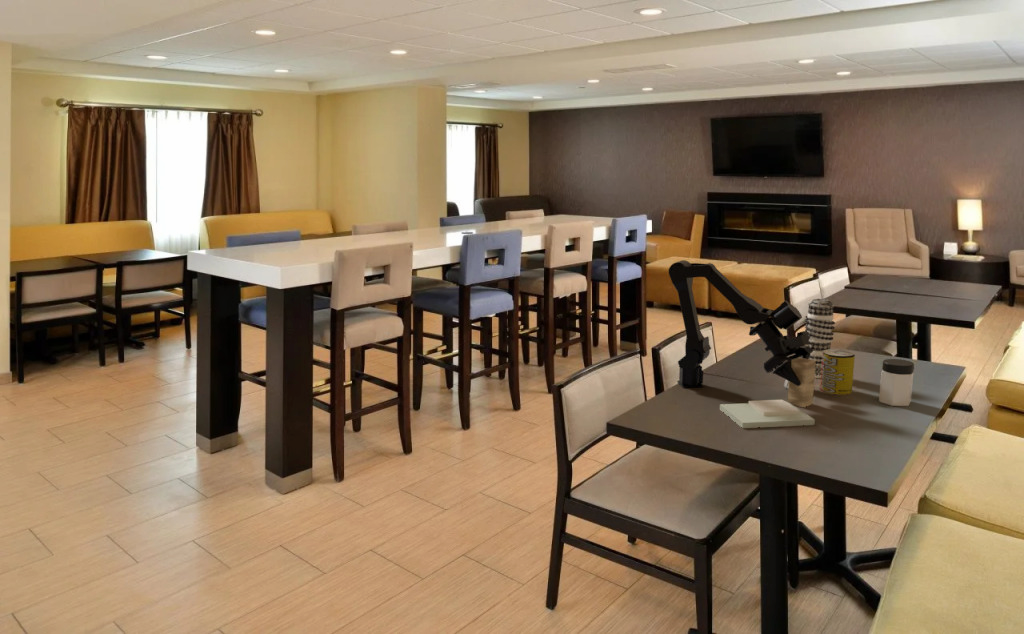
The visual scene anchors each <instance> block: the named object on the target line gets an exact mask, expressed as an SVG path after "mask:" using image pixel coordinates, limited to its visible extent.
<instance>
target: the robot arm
mask: <svg viewBox="0 0 1024 634" xmlns="http://www.w3.org/2000/svg"><path fill="white" fill-rule="evenodd" d="M668 275H669V278H670V280H671V283H672V285H673V286H674V288H675V290H676V291H677V295H678V299H679V307H680V310H681V315H682V319H683V324H684V329H685V335H686V337H685V338H686V339H685V344H684V347H685V348H684V349H685V350H684V351H685V355H684V356H683V357H681V358H680V359H679V360H678V361H677V364H678V366H679V372H678V374H679V375H678V377H679V378H678V380H677V381H676V383H678V384H679V385H680V386H681V387H682V388H703V387H704V370H703V366H702V365H701V364H703V362H704V361H705V360H706V359H707V358H708V357H709V355H710V354H711V353H710V350H711V349H712V347H711V346H710V339H709V337H710V336H705V337H704V335H703V333H702V331H701V328H700V327H701V326H700V322H699V317H698V312H697V307H696V301H695V298H694V292H693V283H694V282H693V281H694V278H705V279H706V280H707V281H708V282H709V283H710V284H711V285H712V286H713V288H715V289H716V290H717V291H718V292H719V293H720V294H721V295H722V296H723V297H724V298H725V299H726V300H727V301H728V302H730V303H731V305H732V306H733V308H734V310H735V312H736V314H737V315H738V317H739V318H740V320H741V321H742V323H744V324H747V325H752V326H750V327H749V333H748V335H749V336H756V335H757V336H758V337H759V338H760V340H761V341H762V342H763V343H764V345H765V346H766V347H765V348H764V350H765V351H766V352H769V353H771V354H772V356H771V357H770V358H769V359H768V360H766V361H765V362H764V363H763V370H764V371H765V372H766V374H769V373H772V375H773V374H774V375H776V376H778V377H781V378H783V379H786V380H788V381H790V382H791V383H793V384H795V385H797V386H800V385H801V383H800V381H799V379H798V377H797V376H796V374H795V372H794V371H793V369H792V367H791V360H793V359H796V358H799V357H800V358H805V359H809V357H810V354H811V353H812V352H813V350H812V349H811V348H810V346H806V345H808V344H810V343H809V339H810V336H808V334H807V333H806V332H805V330H802V331H799V332H797V334H796V336H793V337H790V336H789V335H787V334H786V335H784V334H783V333H782V332H781V331H780V330H783V329H784V330H788V329H789V328H791V327H792V326H793V325H794V324H796V323H797V322H798V321H800V320H801V319H802V318H803V316H802V314H801V313H800V311H799V310H798V308H797V307H796V306H794V305H793V304H791V303H789V302H788V300H784V301H783V302H781V304H780V305H779V306H778V307H776V308H775V309H769V308H767V307H763V305H761V304H760V303H759V302H757V301H755V300H754V299H753V298H751V297H749V296H747V295H745V294H744V293H742V292H741V291H740V289H738V288H737V287H736V286H735V285H734V284H733V283H732V282H731V281H730V280H729V278H727V277H726V276H725V275H724V274H723V273H722V272H721V271H720V270H719V269H717V267H716V265H715V264H713V263H711V262H710V263H709V262H708V263H699V262H698V263H697V262H693V263H692V262H689V261H687V260H679V261H676V262H674V263H672V264H671V265H669V268H668ZM758 322H759V323H758ZM757 323H758V324H757ZM755 324H757V325H755ZM753 325H755V326H753ZM798 347H799V348H798Z"/></svg>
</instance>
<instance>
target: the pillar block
mask: <svg viewBox="0 0 1024 634" xmlns="http://www.w3.org/2000/svg"><path fill="white" fill-rule="evenodd" d="M815 363H816V361H815V360H810V359H805V358H800V357H799V358H796V359H793V360H791V367H792V369H793V371H794V372H795V374H796V376H797V377H798V379H799V381H800V383H801V385H800V386H797V385H795V384H793V383H791V382H790V381H789V389H788V391H787V402H789V403H790V404H792V405H793V406H795V407H800V408H803V407H804V408H806V406H807V407H810V406H811V405H813V402H814V389H815V378H814V377H815Z"/></svg>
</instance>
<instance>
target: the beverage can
mask: <svg viewBox="0 0 1024 634" xmlns="http://www.w3.org/2000/svg"><path fill="white" fill-rule="evenodd" d="M855 358H856V354H855V352H854V351H850V350H846V349H837V348H836V349H835V348H834V349H833V348H830V349H829V350H824V351H823V357H822V370H821V378H820V384H819V390H820V392H822V393H825V394H828V393H830V394H829V395H833V394H838V395H837V396H846V394H848V395H851V394H852V392H853V381H854V370H855V369H854V368H855Z"/></svg>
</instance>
